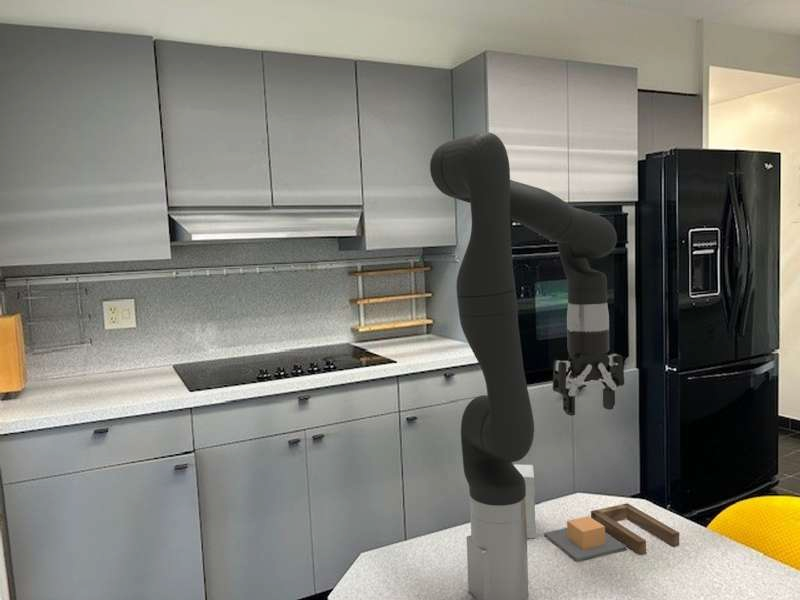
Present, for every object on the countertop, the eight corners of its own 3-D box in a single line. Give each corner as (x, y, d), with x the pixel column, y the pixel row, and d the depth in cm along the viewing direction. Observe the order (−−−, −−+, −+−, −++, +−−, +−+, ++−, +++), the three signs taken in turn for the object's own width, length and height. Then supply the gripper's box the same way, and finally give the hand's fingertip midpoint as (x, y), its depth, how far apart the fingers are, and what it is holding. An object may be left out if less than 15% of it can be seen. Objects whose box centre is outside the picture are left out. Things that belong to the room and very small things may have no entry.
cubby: (639, 555, 113) (639, 542, 113) (591, 522, 127) (590, 511, 126) (679, 545, 116) (679, 532, 116) (627, 514, 130) (627, 503, 129)
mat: (576, 561, 111) (576, 558, 111) (543, 535, 122) (543, 532, 122) (626, 549, 115) (626, 546, 115) (590, 525, 125) (590, 522, 125)
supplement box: (535, 539, 121) (534, 477, 120) (498, 537, 122) (496, 476, 121) (535, 522, 128) (533, 464, 127) (499, 520, 129) (497, 463, 128)
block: (583, 549, 115) (583, 531, 114) (567, 538, 119) (567, 520, 119) (605, 544, 116) (605, 526, 116) (588, 533, 121) (588, 516, 121)
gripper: (606, 321, 120) (607, 402, 121) (543, 327, 115) (545, 411, 117) (632, 325, 113) (633, 411, 114) (566, 332, 108) (568, 421, 110)
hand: (589, 411), depth 115 cm, fingers open, 8 cm apart
